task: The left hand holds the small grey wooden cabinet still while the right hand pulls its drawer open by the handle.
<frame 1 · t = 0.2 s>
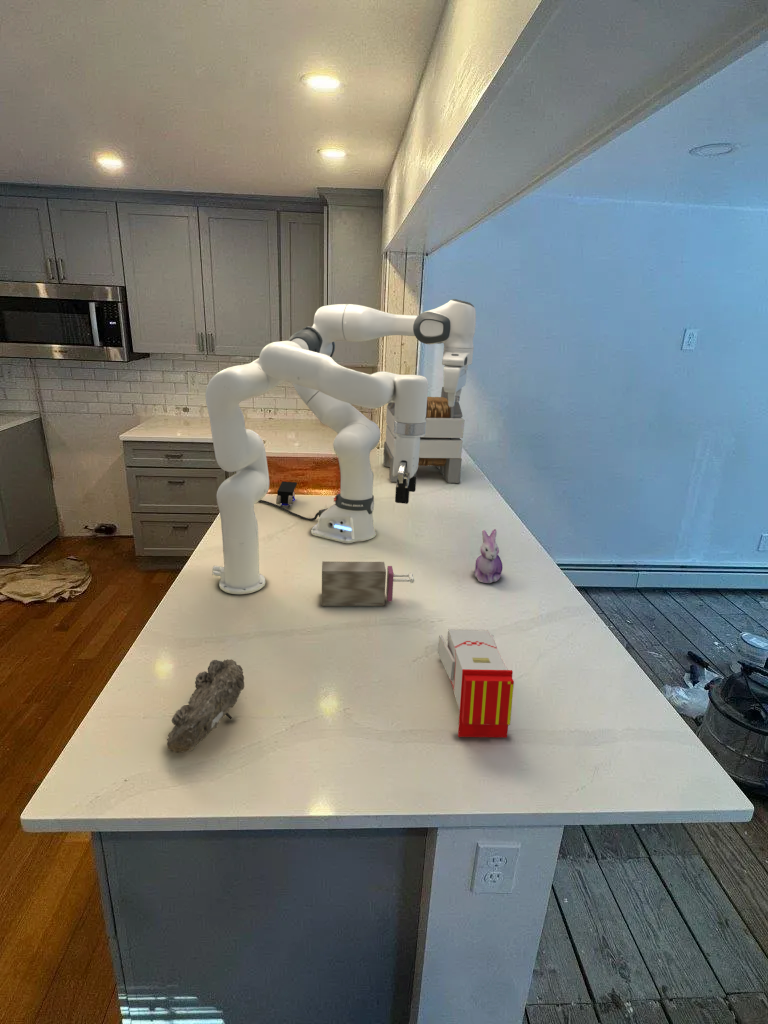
left hand: (405, 496, 140), 31 cm above the counter, tool pointing down, fingers open, 9 cm apart
right hand: (453, 404, 174), 48 cm above the counter, tool pointing down, fingers open, 8 cm apart
figurine character: (286, 504, 224), on the counter
figurine: (487, 577, 170), on the counter
toy: (469, 691, 119), on the counter
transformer: (419, 473, 275), on the counter
cabinet: (352, 600, 153), on the counter
drawer: (373, 583, 152), point 5 cm above the counter, slide at 0.9 cm
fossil: (212, 717, 108), on the counter
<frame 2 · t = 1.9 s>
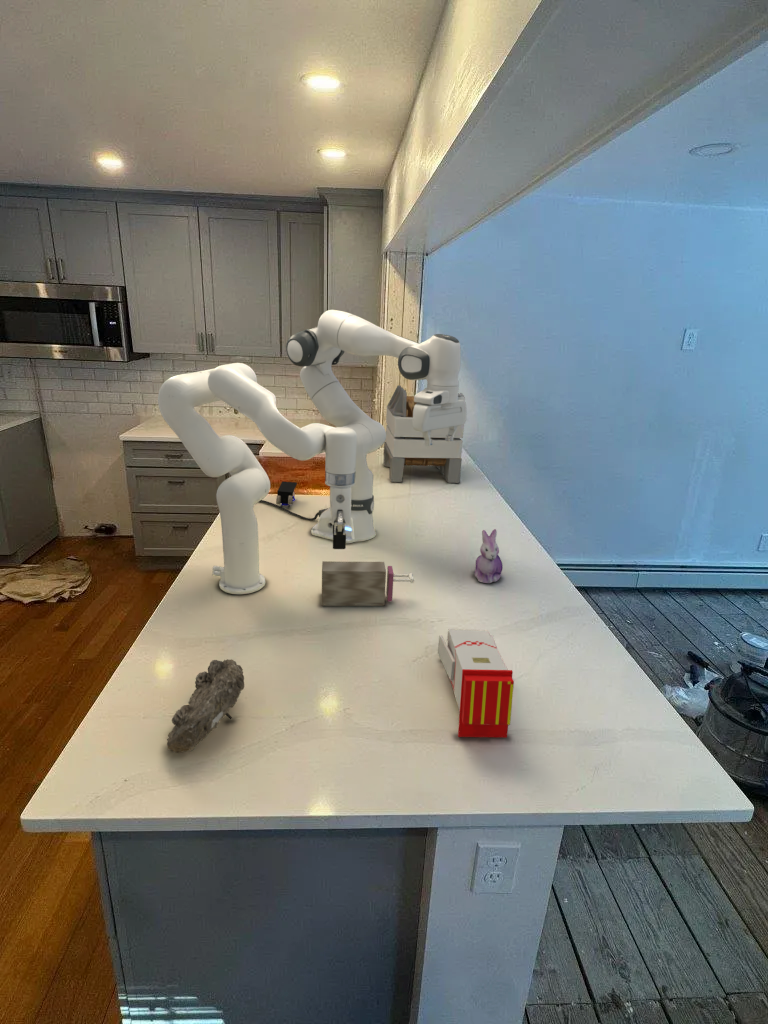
left hand: (338, 541, 147), 17 cm above the counter, tool pointing down, fingers open, 9 cm apart
right hand: (439, 443, 164), 39 cm above the counter, tool pointing down, fingers open, 8 cm apart
nothing on the counter moved.
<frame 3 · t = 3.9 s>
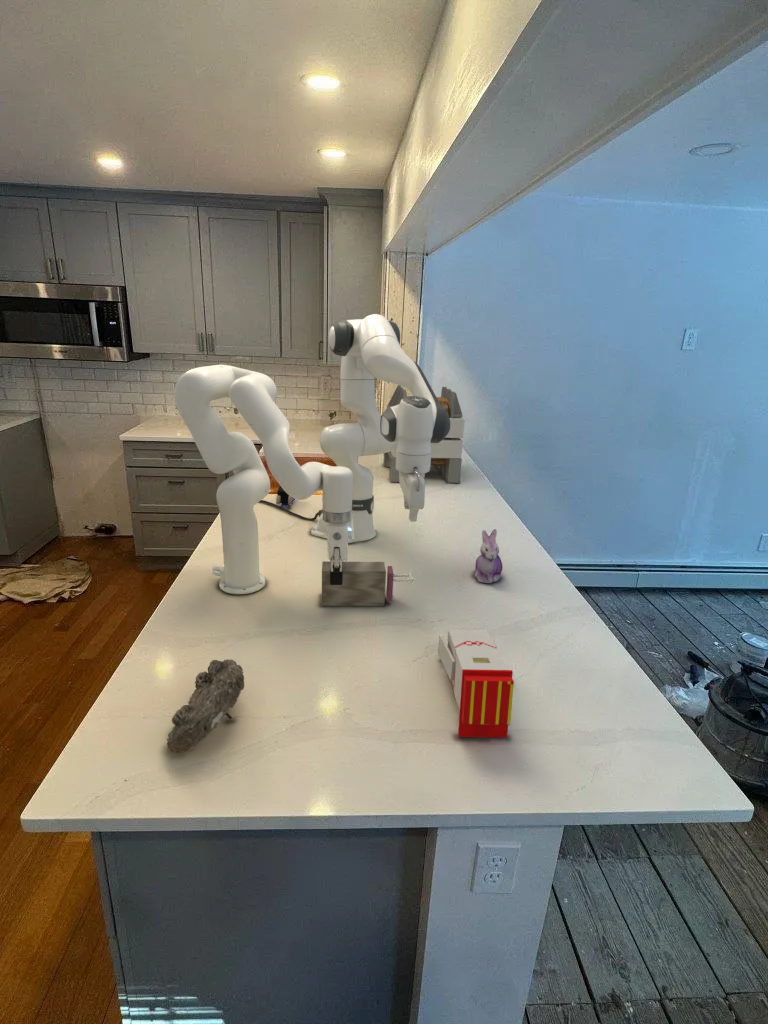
left hand: (336, 578, 151), 7 cm above the counter, tool pointing down, fingers closed on cabinet, 6 cm apart
right hand: (410, 514, 148), 24 cm above the counter, tool pointing down, fingers open, 8 cm apart
cabinet: (352, 600, 153), on the counter, touching left hand
everything else where it was.
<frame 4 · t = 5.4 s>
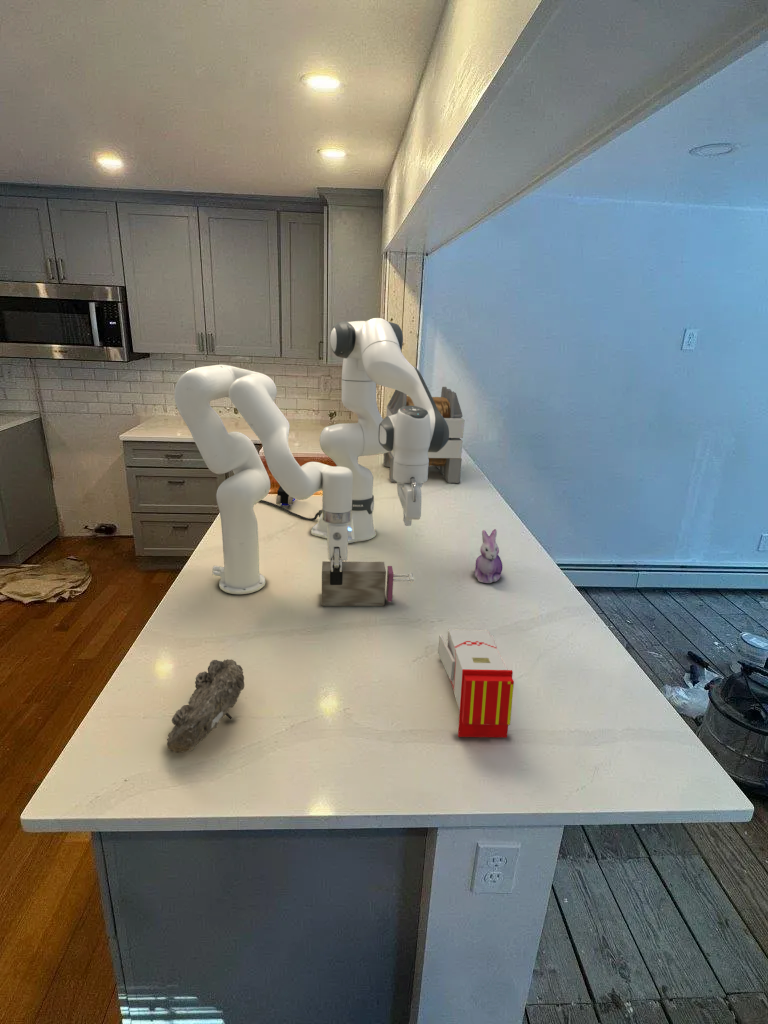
left hand: (336, 578, 151), 7 cm above the counter, tool pointing down, fingers closed on cabinet, 6 cm apart
right hand: (407, 523, 147), 22 cm above the counter, tool pointing down, fingers closed
cabinet: (352, 600, 153), on the counter, touching left hand
everything else where it was.
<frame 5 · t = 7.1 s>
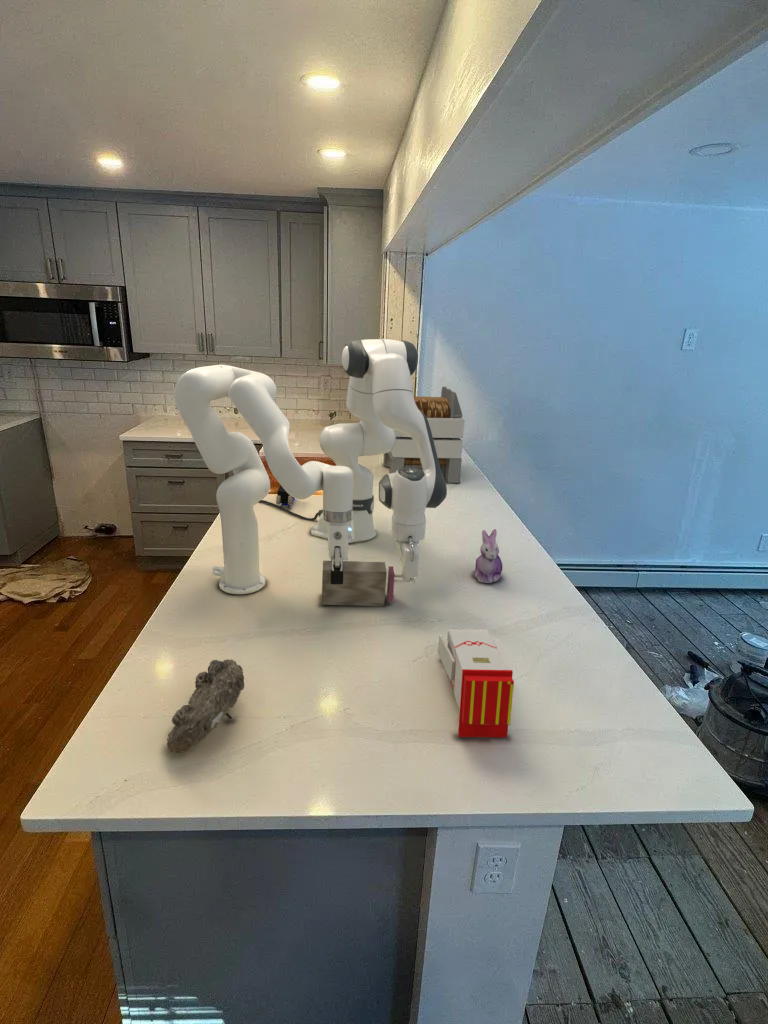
left hand: (336, 577, 151), 7 cm above the counter, tool pointing down, fingers closed on cabinet, 6 cm apart
right hand: (405, 578, 152), 7 cm above the counter, tool pointing down, fingers closed, pressing on drawer
cabinet: (352, 600, 153), on the counter, touching left hand
drawer: (374, 583, 152), point 5 cm above the counter, slide at 1.0 cm, touching right hand
everything else where it was.
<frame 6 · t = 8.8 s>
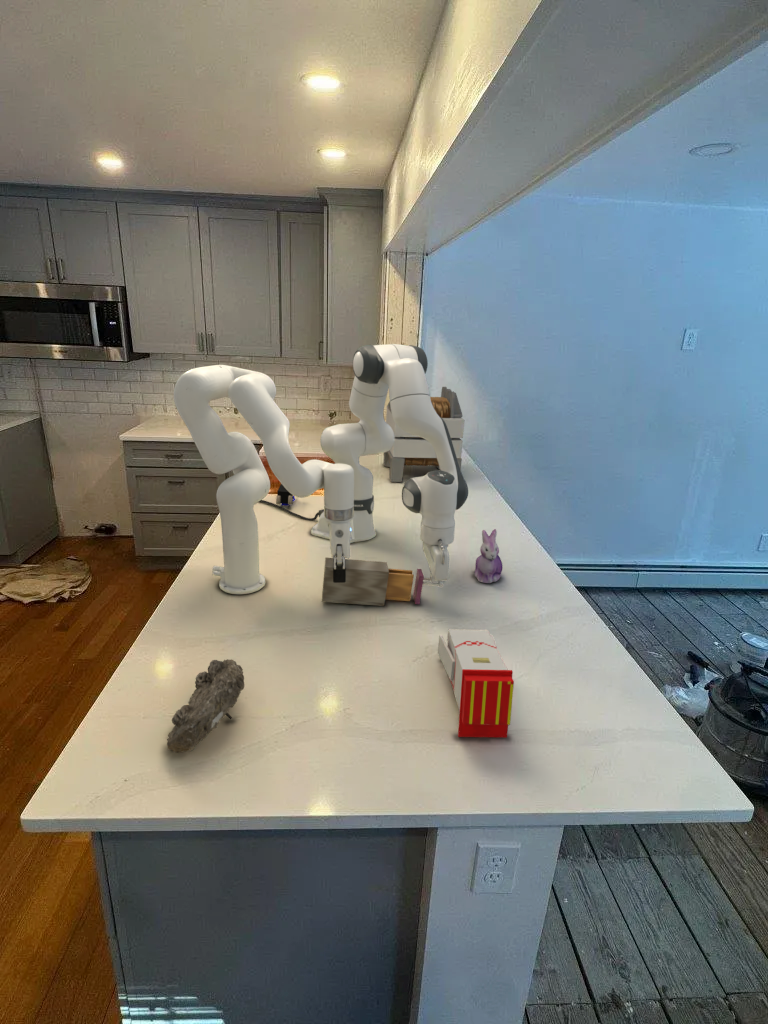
left hand: (339, 575, 150), 7 cm above the counter, tool pointing down, fingers closed on cabinet, 6 cm apart
right hand: (433, 581, 153), 6 cm above the counter, tool pointing down, fingers closed, pressing on drawer
cabinet: (352, 598, 153), point 1 cm above the counter, touching left hand
drawer: (402, 585, 153), point 5 cm above the counter, slide at 8.3 cm, touching right hand
everything else where it was.
when the left hand's fingers open (7 cm above the counter, at t = 10.5 s): cabinet stays where it is, on the counter.
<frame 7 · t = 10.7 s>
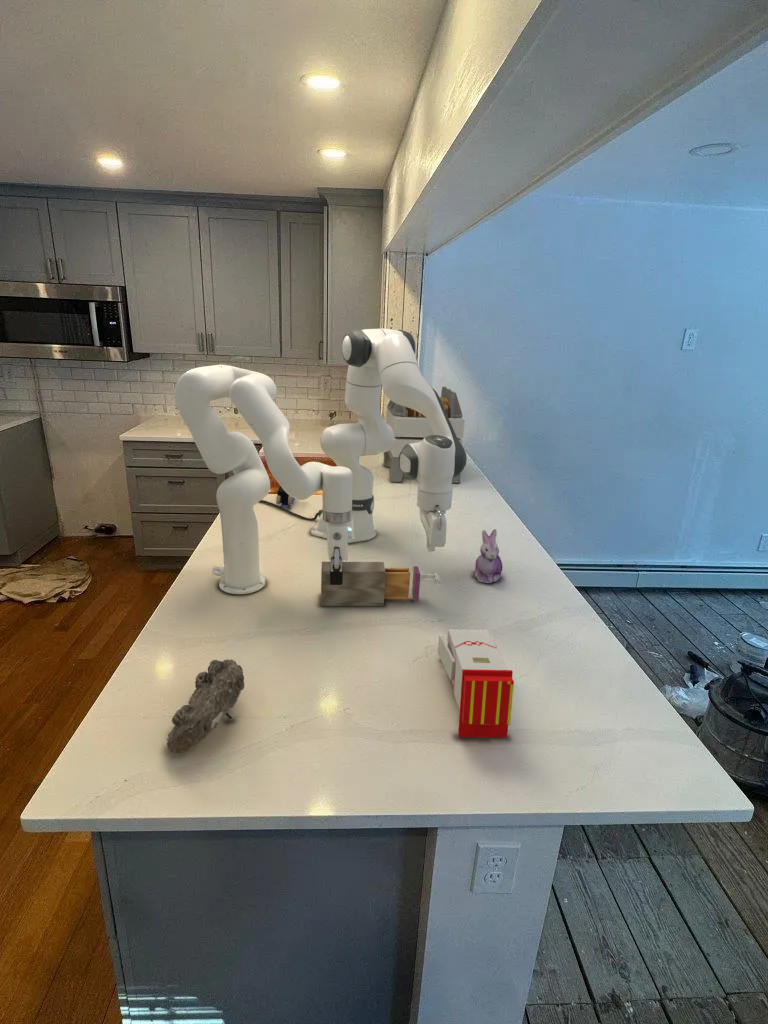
left hand: (336, 576, 151), 7 cm above the counter, tool pointing down, fingers open, 8 cm apart
right hand: (430, 549, 150), 15 cm above the counter, tool pointing down, fingers closed
cabinet: (352, 600, 153), on the counter
drawer: (400, 583, 153), point 5 cm above the counter, slide at 8.2 cm
everything else where it was.
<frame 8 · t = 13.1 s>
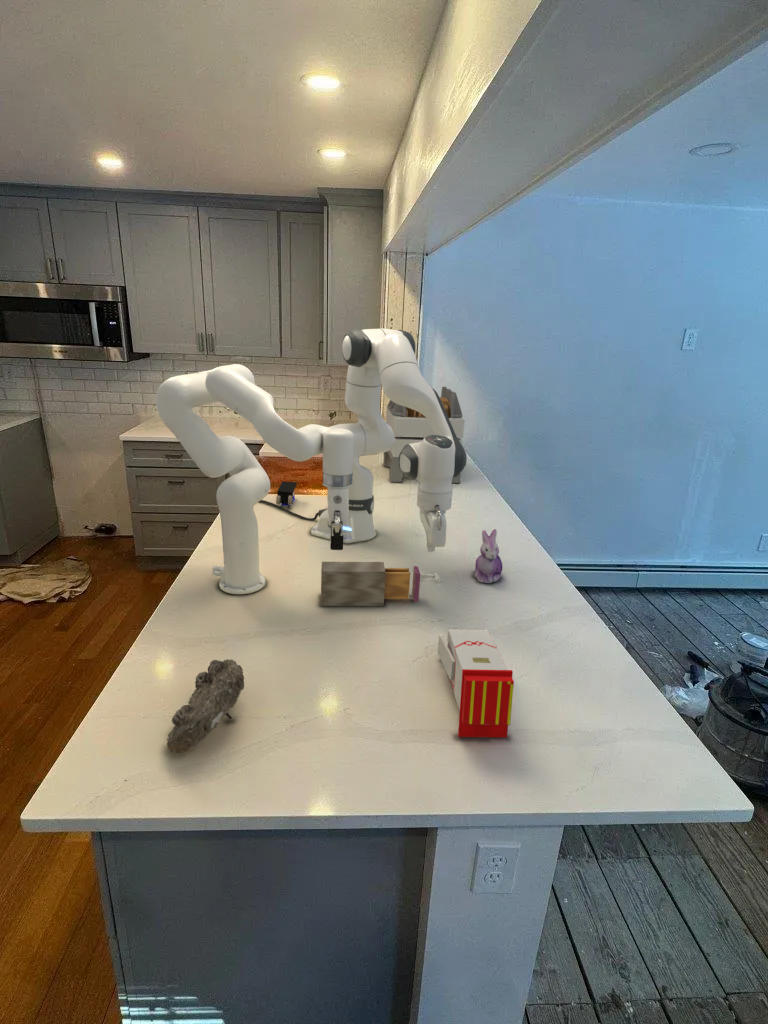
left hand: (336, 541, 147), 17 cm above the counter, tool pointing down, fingers open, 9 cm apart
right hand: (430, 549, 150), 15 cm above the counter, tool pointing down, fingers closed
nothing on the counter moved.
at the end: drawer slide at 8.2 cm; cabinet tilted 0°; cabinet never tilted more than 5° during the clip; cabinet moved 0.2 cm from its start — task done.
